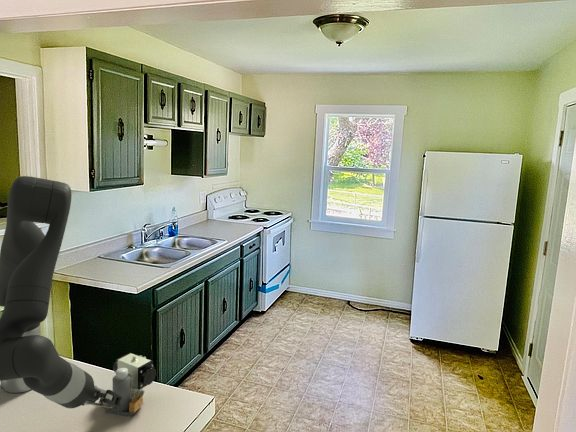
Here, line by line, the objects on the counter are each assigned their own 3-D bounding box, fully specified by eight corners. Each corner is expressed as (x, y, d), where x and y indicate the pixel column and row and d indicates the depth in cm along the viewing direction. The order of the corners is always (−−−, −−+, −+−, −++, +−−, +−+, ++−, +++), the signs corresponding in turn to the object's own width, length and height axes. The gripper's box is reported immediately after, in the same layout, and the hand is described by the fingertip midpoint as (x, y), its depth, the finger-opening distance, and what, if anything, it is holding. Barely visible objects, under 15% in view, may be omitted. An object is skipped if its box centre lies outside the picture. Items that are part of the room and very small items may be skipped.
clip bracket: (102, 411, 107) (102, 399, 107) (112, 401, 112) (112, 389, 111) (133, 417, 106) (133, 404, 105) (143, 406, 110) (143, 394, 110)
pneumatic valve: (143, 407, 110) (143, 365, 108) (112, 394, 115) (112, 354, 113) (158, 397, 115) (159, 357, 113) (128, 385, 120) (128, 346, 118)
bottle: (109, 409, 107) (108, 373, 105) (119, 399, 111) (119, 364, 110) (125, 412, 106) (125, 376, 105) (135, 402, 111) (135, 367, 109)
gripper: (105, 370, 87) (134, 391, 100) (45, 361, 89) (81, 383, 102) (89, 408, 82) (122, 425, 95) (26, 398, 85) (66, 416, 97)
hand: (101, 403), depth 98 cm, fingers open, 8 cm apart
